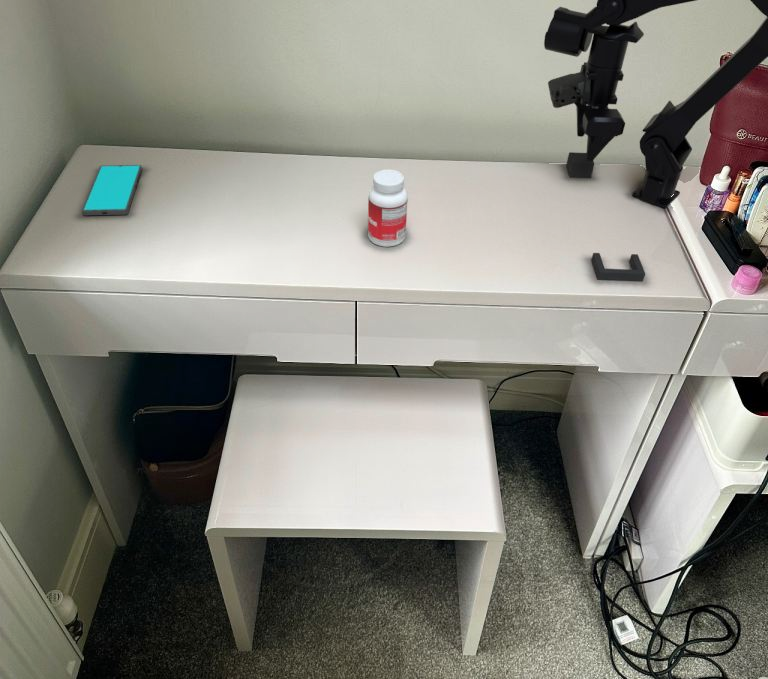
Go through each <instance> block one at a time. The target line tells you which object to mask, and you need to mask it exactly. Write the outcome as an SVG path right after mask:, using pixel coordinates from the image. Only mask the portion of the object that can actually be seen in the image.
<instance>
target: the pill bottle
mask: <svg viewBox="0 0 768 679" xmlns="http://www.w3.org/2000/svg"><path fill="white" fill-rule="evenodd" d="M372 179H373V181H372V186H371V187H370V189H369V190H368V194H367V195H368V196H367V198H368V199H367V201H368V203H367V237H368V239H369V240H370V242H371V243H373V244H375V245H376V246H380V247H388V248H389V247H395V246H398V245H400V244H402V242H404V240H405V238H406V236H407V235H406V233H407V216H408V201H409V195H408V191H407V189H406V188H405V187H404V186H405V176H404V174H403V173H401V172H400V171H399V170H395V169H390V168H389V169H379V170H378V171H376V172H375V173H374V174H373V177H372Z"/></svg>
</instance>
